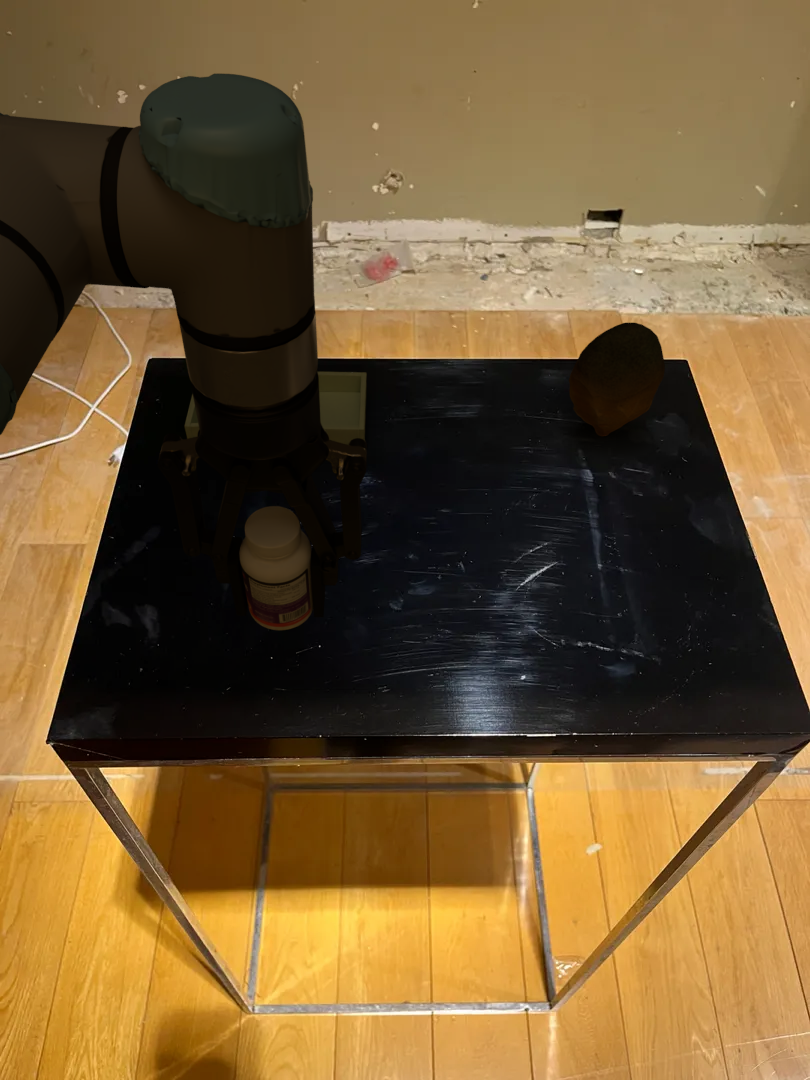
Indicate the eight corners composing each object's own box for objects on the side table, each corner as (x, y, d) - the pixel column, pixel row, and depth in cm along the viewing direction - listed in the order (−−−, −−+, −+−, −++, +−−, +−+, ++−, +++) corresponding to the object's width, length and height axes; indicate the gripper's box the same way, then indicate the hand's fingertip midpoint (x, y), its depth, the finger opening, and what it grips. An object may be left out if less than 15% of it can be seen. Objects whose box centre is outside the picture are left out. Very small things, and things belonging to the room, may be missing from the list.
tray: (189, 446, 90) (184, 426, 88) (202, 389, 97) (198, 368, 94) (364, 449, 91) (364, 429, 88) (366, 392, 97) (366, 372, 95)
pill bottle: (260, 572, 69) (248, 492, 61) (322, 584, 68) (318, 505, 61) (238, 625, 65) (223, 547, 58) (304, 638, 65) (298, 561, 57)
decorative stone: (636, 419, 95) (672, 308, 84) (645, 456, 91) (685, 344, 80) (553, 417, 95) (577, 305, 84) (559, 453, 91) (585, 341, 80)
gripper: (409, 339, 51) (395, 568, 69) (110, 329, 51) (174, 563, 68) (411, 419, 47) (395, 644, 64) (80, 409, 46) (157, 639, 64)
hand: (281, 602), depth 66 cm, fingers closed on pill bottle, 5 cm apart
